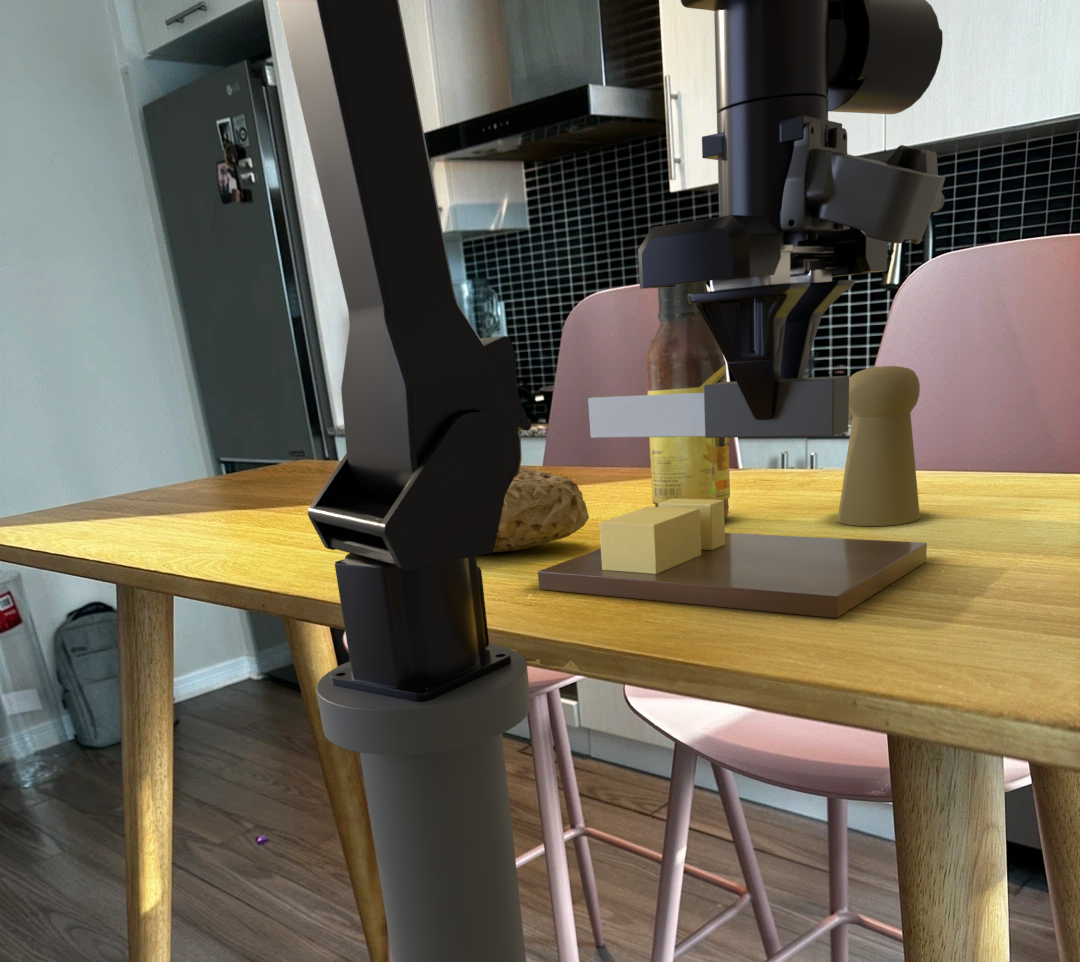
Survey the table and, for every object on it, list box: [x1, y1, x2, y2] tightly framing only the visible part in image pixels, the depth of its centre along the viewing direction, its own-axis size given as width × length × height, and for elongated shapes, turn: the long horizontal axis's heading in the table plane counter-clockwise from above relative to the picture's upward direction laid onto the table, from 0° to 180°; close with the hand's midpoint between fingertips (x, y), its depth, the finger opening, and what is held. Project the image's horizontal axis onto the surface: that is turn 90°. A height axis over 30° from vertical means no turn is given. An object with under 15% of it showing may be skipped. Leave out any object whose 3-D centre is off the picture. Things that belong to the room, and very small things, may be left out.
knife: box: [587, 375, 850, 439], centre depth 62 cm, size 2×17×3 cm, turn 52°
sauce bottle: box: [645, 281, 731, 520], centre depth 80 cm, size 6×6×20 cm
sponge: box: [492, 467, 590, 553], centre depth 80 cm, size 13×8×20 cm
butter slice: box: [658, 499, 726, 550], centre depth 68 cm, size 2×4×3 cm, turn 52°
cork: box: [837, 365, 921, 527], centre depth 77 cm, size 6×6×11 cm
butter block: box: [598, 506, 701, 574], centre depth 65 cm, size 6×4×3 cm
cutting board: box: [537, 532, 928, 619], centre depth 65 cm, size 14×20×1 cm
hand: (774, 416), depth 59 cm, fingers closed on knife, 2 cm apart
